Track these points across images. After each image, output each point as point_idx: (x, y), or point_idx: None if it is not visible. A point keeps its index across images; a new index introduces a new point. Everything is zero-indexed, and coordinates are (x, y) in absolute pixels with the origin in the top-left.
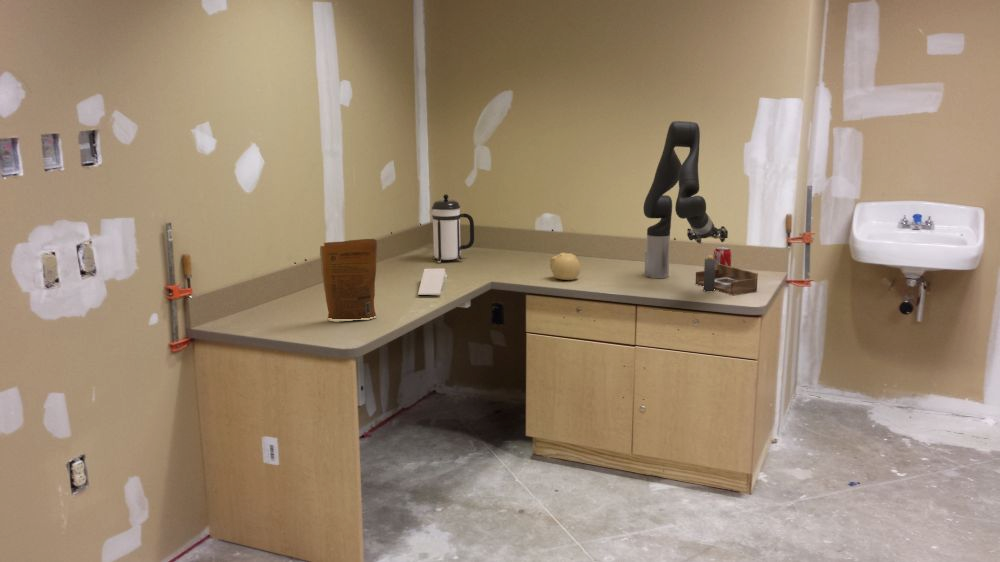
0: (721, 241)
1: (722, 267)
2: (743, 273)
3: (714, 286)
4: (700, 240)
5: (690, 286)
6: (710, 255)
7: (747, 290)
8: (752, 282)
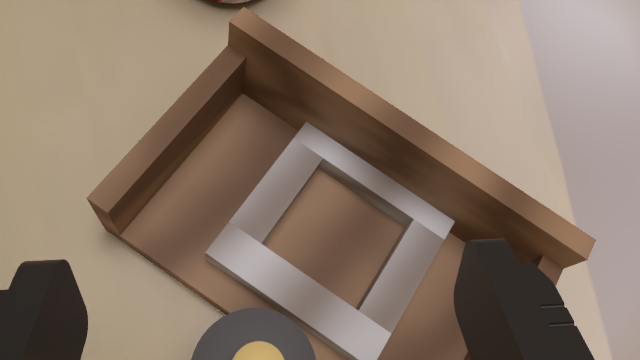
0: (471, 345)
1: (278, 64)
2: (467, 193)
3: None
4: (64, 339)
5: None
6: (255, 347)
7: None
8: None
